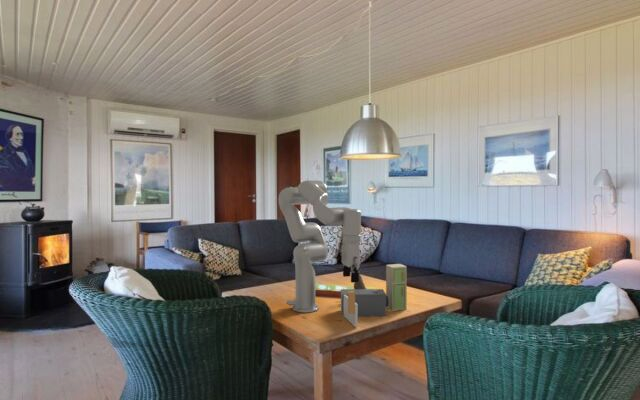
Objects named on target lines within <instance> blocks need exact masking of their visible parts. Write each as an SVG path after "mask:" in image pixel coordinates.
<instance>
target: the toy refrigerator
mask: <svg viewBox="0 0 640 400" xmlns="http://www.w3.org/2000/svg"><path fill="white" fill-rule="evenodd" d="M407 271H408V270H407V265H404V264H402V263H393V264H392V263H391V264H386V266H385V280H386V281H385V293H386V296H388V301H389V304H388V307H386V309H388V310H389V311H392V312H394V311H395V312H396V311H404V310H407V305H408V304H407V300H408V299H407V297H408V296H407V293H408V292H407V289H408V288H407V285H408V284H407V281H408V280H407V278H408V277H407V276H408V273H407Z"/></svg>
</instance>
